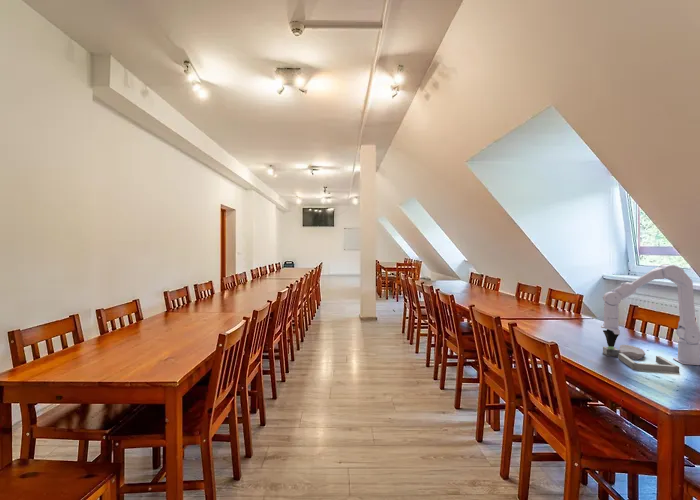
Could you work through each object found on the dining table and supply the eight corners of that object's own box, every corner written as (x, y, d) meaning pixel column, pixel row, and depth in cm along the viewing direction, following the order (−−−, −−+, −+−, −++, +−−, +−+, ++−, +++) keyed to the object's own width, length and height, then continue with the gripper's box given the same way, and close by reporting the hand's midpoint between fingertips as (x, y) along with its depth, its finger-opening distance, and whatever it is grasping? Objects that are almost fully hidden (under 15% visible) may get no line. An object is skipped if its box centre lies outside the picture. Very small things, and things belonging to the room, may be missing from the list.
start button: (612, 354, 180) (612, 345, 180) (614, 355, 178) (614, 346, 178) (607, 353, 181) (607, 345, 181) (609, 354, 179) (609, 346, 179)
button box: (614, 353, 181) (614, 347, 181) (619, 356, 176) (619, 350, 176) (602, 352, 182) (602, 346, 182) (606, 355, 178) (606, 349, 178)
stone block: (643, 358, 180) (617, 351, 185) (645, 349, 179) (620, 341, 185) (643, 366, 170) (617, 357, 176) (646, 356, 169) (619, 348, 175)
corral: (659, 361, 169) (660, 356, 169) (679, 373, 154) (679, 367, 154) (618, 358, 173) (618, 353, 173) (633, 369, 158) (633, 363, 158)
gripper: (596, 314, 187) (595, 341, 187) (607, 320, 173) (606, 349, 173) (612, 315, 185) (612, 342, 185) (625, 320, 171) (624, 350, 171)
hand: (610, 346), depth 179 cm, fingers closed, pressing on start button
